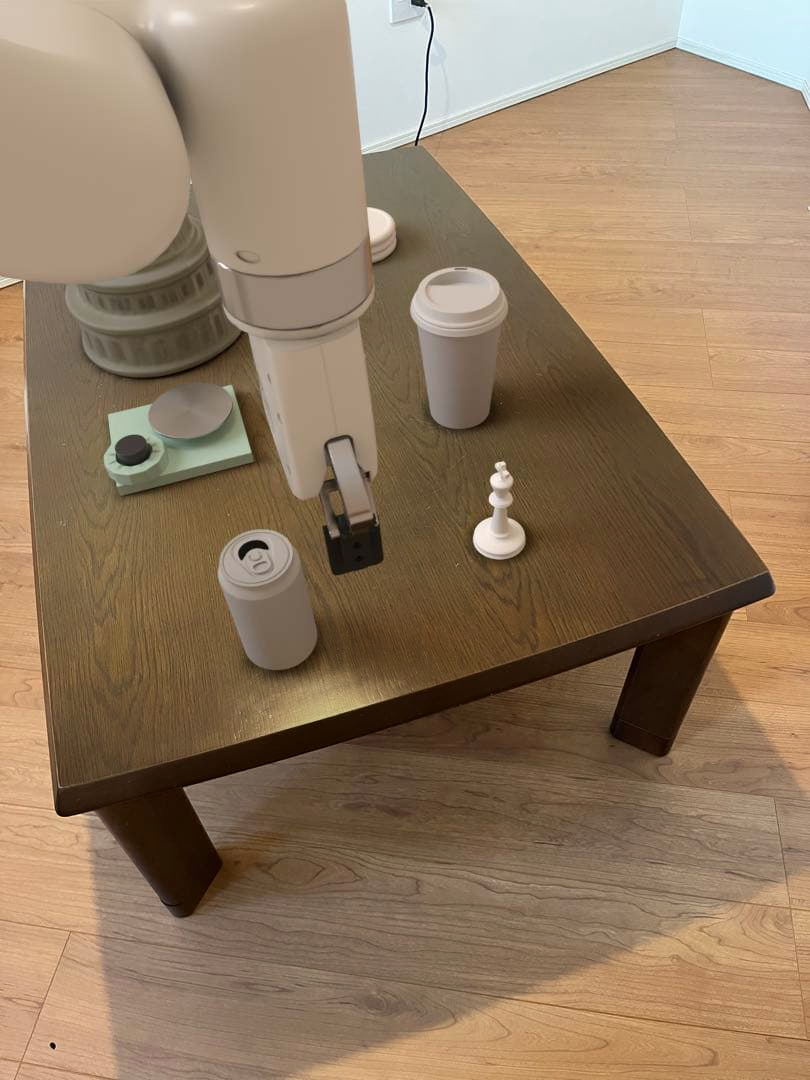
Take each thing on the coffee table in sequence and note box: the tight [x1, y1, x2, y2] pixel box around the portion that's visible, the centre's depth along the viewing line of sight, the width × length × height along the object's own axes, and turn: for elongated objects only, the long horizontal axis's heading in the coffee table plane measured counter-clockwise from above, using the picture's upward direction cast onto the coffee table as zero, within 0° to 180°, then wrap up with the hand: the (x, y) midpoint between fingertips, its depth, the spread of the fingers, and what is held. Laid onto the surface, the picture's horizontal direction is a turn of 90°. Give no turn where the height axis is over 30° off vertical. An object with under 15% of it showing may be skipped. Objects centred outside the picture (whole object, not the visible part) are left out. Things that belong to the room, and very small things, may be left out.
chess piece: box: [472, 460, 526, 561], centre depth 75 cm, size 5×5×10 cm
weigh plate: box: [148, 381, 233, 439], centre depth 89 cm, size 9×9×1 cm
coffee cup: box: [409, 266, 509, 430], centre depth 85 cm, size 10×10×15 cm
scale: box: [103, 384, 255, 497], centre depth 89 cm, size 14×12×3 cm
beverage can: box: [217, 528, 318, 671], centre depth 68 cm, size 6×6×12 cm
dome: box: [64, 212, 243, 379], centre depth 95 cm, size 20×25×20 cm
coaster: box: [367, 206, 397, 264], centre depth 113 cm, size 10×10×4 cm
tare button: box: [115, 434, 150, 466], centre depth 85 cm, size 3×3×2 cm
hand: (336, 510), depth 53 cm, fingers open, 9 cm apart
